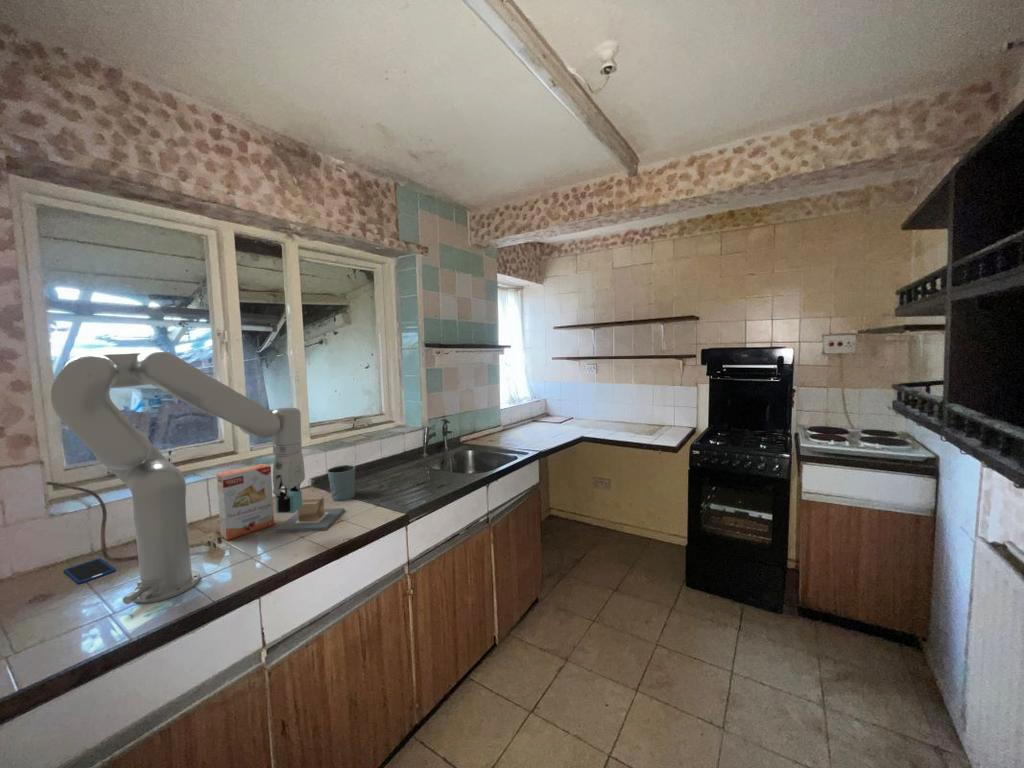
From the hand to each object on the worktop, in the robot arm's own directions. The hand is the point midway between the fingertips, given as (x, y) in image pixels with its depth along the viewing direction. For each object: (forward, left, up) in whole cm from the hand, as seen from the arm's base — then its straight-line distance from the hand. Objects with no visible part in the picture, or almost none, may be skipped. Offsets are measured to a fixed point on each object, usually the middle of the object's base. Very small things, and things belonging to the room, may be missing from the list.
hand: (289, 507), depth 119 cm
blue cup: (+39, -1, -12) cm, 40 cm away
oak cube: (+16, +2, -10) cm, 19 cm away
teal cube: (0, 0, -1) cm, 1 cm away
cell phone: (-11, +48, -12) cm, 51 cm away
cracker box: (+11, +19, -12) cm, 25 cm away
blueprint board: (+17, +1, -11) cm, 20 cm away
